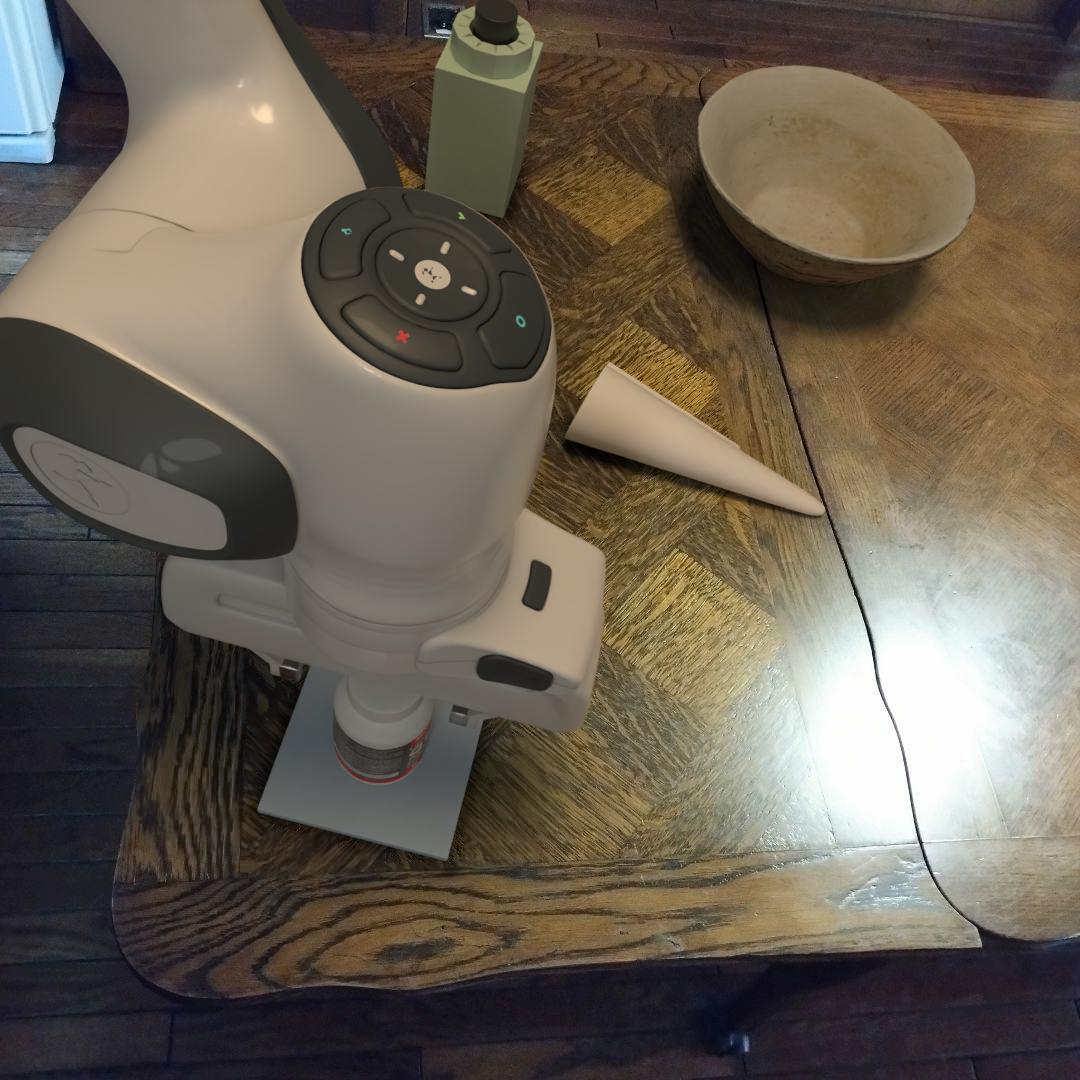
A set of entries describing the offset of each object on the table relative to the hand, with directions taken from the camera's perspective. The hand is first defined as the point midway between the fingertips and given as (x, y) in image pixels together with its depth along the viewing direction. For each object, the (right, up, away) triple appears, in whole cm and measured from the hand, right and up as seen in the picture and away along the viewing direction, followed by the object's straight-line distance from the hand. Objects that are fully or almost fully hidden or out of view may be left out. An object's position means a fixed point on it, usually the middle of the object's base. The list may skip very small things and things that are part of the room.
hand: (377, 689), depth 52 cm
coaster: (-1, -4, +7) cm, 8 cm away
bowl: (+31, +35, +38) cm, 60 cm away
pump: (+5, +46, +23) cm, 52 cm away
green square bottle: (+3, +39, +34) cm, 52 cm away
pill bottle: (-1, -4, +7) cm, 8 cm away
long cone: (+20, +12, +21) cm, 32 cm away
